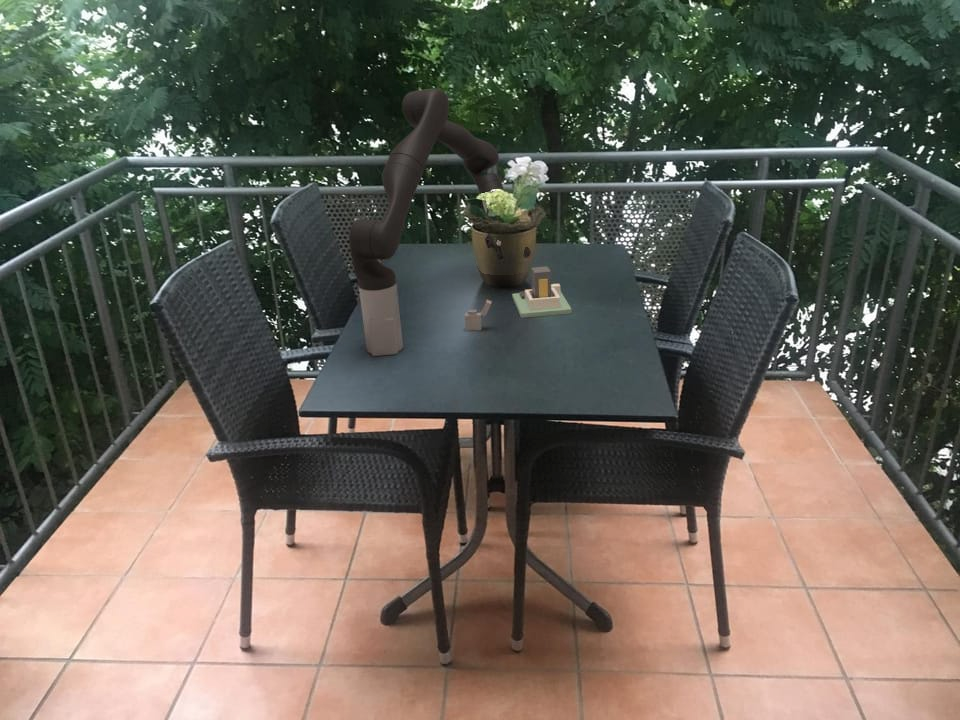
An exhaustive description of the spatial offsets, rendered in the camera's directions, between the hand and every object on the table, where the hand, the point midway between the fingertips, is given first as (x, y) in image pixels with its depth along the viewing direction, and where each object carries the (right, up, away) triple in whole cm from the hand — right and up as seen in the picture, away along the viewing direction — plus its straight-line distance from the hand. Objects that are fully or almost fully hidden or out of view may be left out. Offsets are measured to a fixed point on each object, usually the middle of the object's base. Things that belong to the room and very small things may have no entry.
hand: (515, 258), depth 221 cm
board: (+7, -14, -3) cm, 16 cm away
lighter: (-10, -21, -16) cm, 28 cm away
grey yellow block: (+7, -13, -5) cm, 16 cm away
